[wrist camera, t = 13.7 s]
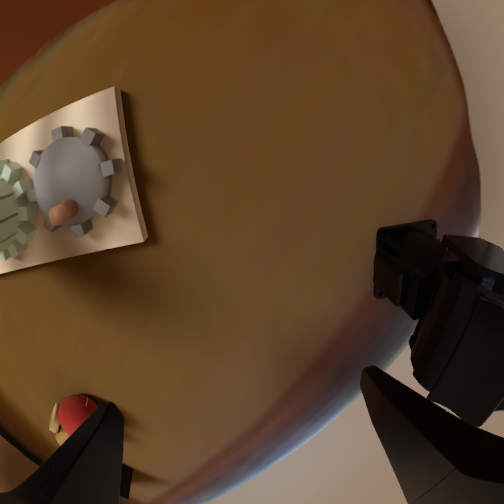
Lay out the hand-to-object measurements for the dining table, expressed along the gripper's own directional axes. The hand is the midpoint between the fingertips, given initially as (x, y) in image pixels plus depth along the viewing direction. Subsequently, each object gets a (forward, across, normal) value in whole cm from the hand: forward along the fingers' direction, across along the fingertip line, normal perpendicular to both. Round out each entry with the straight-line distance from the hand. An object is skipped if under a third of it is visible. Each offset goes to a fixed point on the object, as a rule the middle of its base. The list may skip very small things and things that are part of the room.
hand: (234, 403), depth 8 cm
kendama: (+14, +26, +20) cm, 35 cm away
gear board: (+13, +18, -8) cm, 24 cm away
